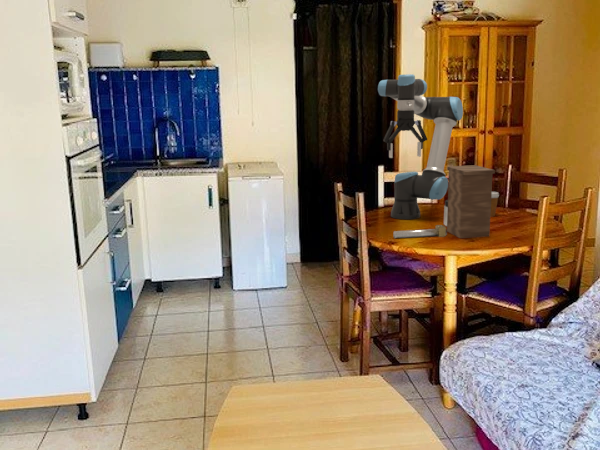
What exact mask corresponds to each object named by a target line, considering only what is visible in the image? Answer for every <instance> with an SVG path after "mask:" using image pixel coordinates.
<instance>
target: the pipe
mask: <svg viewBox="0 0 600 450" xmlns="http://www.w3.org/2000/svg"><path fill="white" fill-rule="evenodd" d="M447 235H448V232H447V226H446V225H444V224H443V225H442V224H437V225H435V228H428V229H414V230H413V229H411V230H410V229H409V230H397V231H396V230H394V231H393V239H405V238H406V239H409V238H422V237H423V238H424V237H425V238H427V237H438V238H444V237H446V236H447Z"/></svg>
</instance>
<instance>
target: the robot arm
mask: <svg viewBox="0 0 600 450" xmlns="http://www.w3.org/2000/svg"><path fill="white" fill-rule="evenodd" d="M427 90H428V83H427V82H426V81H425V80H424V79H421V78H416V76H415V74H414V73H413V74H410V73H409V74H399V75H398V76H397V79H382V80H380V81H379V82H378V85H377V92H378V96H380V97H390V98H391V99H393V100H395V101H396V102H397V105H396V106H397V113H396V116H397V119H396V121H393V120H390V122H389V127H388V129H387V130H386V133H385V135H384V137H383V140H382V141H383V142H385V143H386V150H387V151H388V158H389V159H393V158H394V157H393V152H394V150H393V148H394V147H393V146H394V145H393V143H392V142H393V141H394V139H396V137H397V136H398V135H399V133H401V131H402V132H404V131H406V132H408V131H410V132H411V133H412V134H413V135H414V136H415V138H416V139H417V140H418V141H417V146H416V150H417V151H416V152H417V153H416V156H417V157H419V158H420V157H422V150H423V149H424V142H426V141H428V138H427V135H426V133H425V131H424V128H423V126H422V120H420V119H419V120H415V115H416V116H419V117H420V118H423V119H426V120H430V121H431V120H433V123H434V124H435V126H434V131H433V135H432V140H431V143H430V144H431V145H430V150H429V154H428V159H427V164H426V168H424V169H423V170H422V172H421V174H419V173H418V171H407V172H405V171H404V172H400V173H396V175H395V177H394V183H393V184H394V203H393V205H392V208H391V210H390V217H391V218H393V219H398V220H415V219H419V218H420V217H421V211H420V207H419V203H418V199H425V200H426V199H427V200H433V201H434V200H441V199H443V198H444V197H445V195H446V194H447V193H448V186H449V178H448V177H446V172H444V170H445V165H446V162H447V155H448V151H449V148H450V147H449V145H450V141H451V137H452V133H453V132H452V131H453V127H455V126H457V122H458V121H462V118H463V115H464V108H463V107H464V106H463V102H462V99H460V98H459V97H458V96H423V95H425V94H426V92H427ZM414 125H415V126H416V128H417V129H418V131H417V130H416V128H415V127H414ZM396 126H397V127H396ZM395 127H396V129H395V130H394V128H395ZM393 130H394V132H393ZM392 132H393V133H392ZM418 132H419V133H418Z"/></svg>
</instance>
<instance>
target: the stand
mask: <svg viewBox="0 0 600 450" xmlns="http://www.w3.org/2000/svg"><path fill="white" fill-rule="evenodd" d="M446 170H447V171H448V189H447V194H448V195H447V200H448V215H447V226H446V229H447V233H449V234H450V235H453V236H455V237H457V238H458V239H468V238H469V239H470V238H483V237H490V232H491V231H490V230H491V217H490V215H491V195H492V190H493V176H494V175H493V174H496V170H495V169H492V168H487V167H485V166H479V165H477V164H474V165H472V164H471V165H456V166H452V165H451V166H447V167H446Z"/></svg>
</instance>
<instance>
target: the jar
mask: <svg viewBox="0 0 600 450" xmlns="http://www.w3.org/2000/svg"><path fill="white" fill-rule="evenodd" d="M443 208H444V209H443V226H445V227H447V215H448V199H446V200H445V201H444V206H443Z"/></svg>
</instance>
